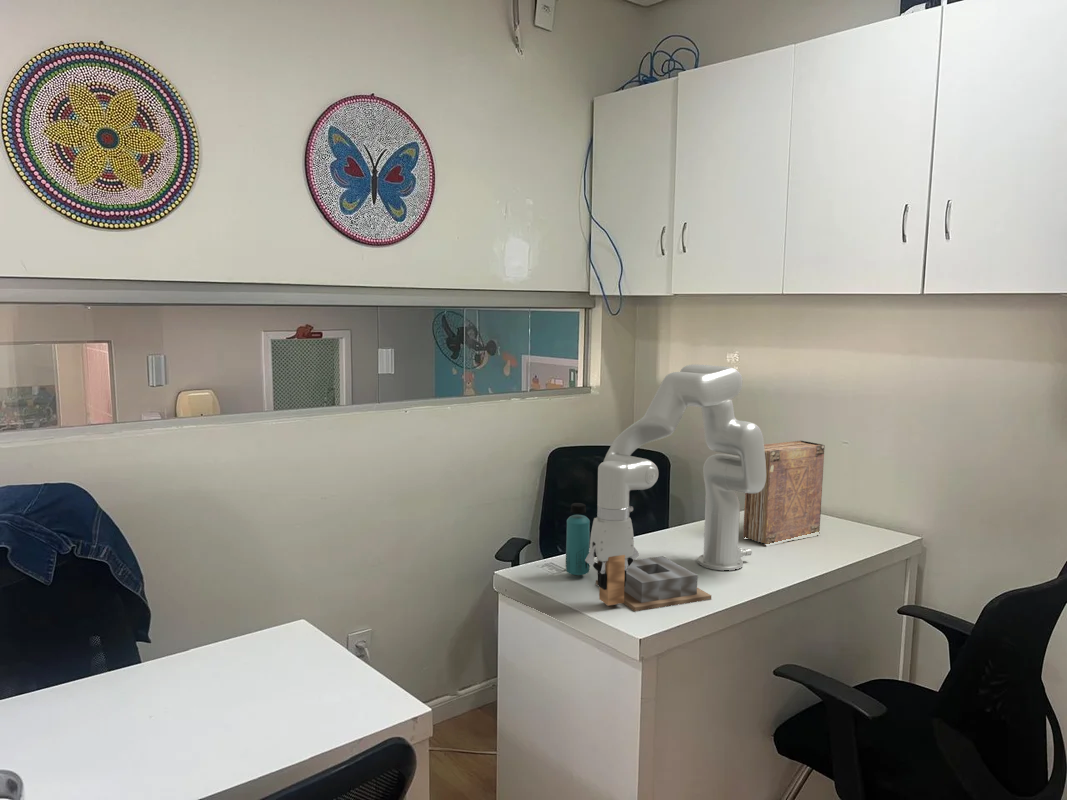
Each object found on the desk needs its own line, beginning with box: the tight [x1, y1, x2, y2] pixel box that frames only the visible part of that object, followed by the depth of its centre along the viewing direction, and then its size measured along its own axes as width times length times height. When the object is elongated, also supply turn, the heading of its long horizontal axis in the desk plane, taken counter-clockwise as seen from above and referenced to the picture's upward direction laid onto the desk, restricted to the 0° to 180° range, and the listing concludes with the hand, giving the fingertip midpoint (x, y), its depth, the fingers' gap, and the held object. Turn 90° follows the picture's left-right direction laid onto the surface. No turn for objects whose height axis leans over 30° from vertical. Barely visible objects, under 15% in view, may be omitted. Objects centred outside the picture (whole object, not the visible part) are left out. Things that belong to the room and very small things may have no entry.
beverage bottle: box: [565, 502, 591, 576], centre depth 208 cm, size 6×7×20 cm
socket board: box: [595, 555, 712, 612], centre depth 199 cm, size 22×20×6 cm
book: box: [742, 440, 826, 545], centre depth 248 cm, size 25×9×30 cm, turn 122°
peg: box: [598, 555, 625, 606], centre depth 188 cm, size 4×4×12 cm
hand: (611, 585), depth 188 cm, fingers closed on peg, 4 cm apart
